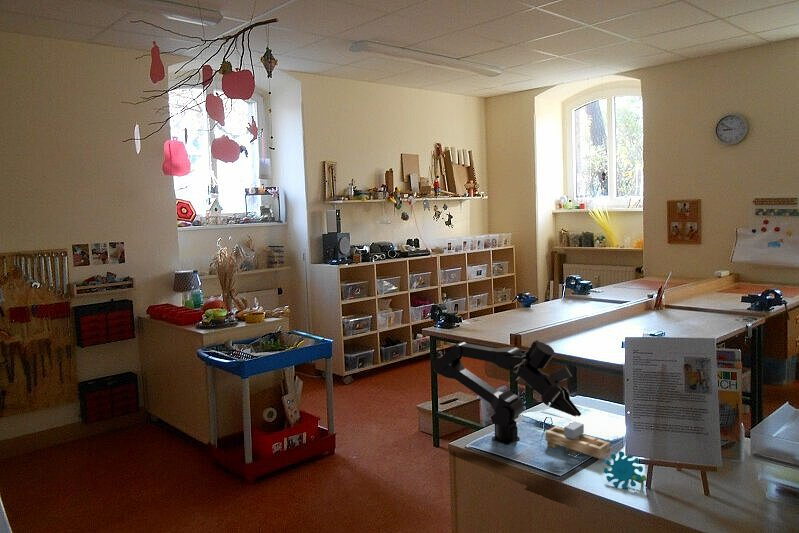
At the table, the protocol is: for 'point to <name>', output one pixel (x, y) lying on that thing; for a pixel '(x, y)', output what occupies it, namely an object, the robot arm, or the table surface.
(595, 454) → the beam
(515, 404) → the robot arm
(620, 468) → the gear
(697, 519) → the table surface
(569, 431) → the white rectangular block
